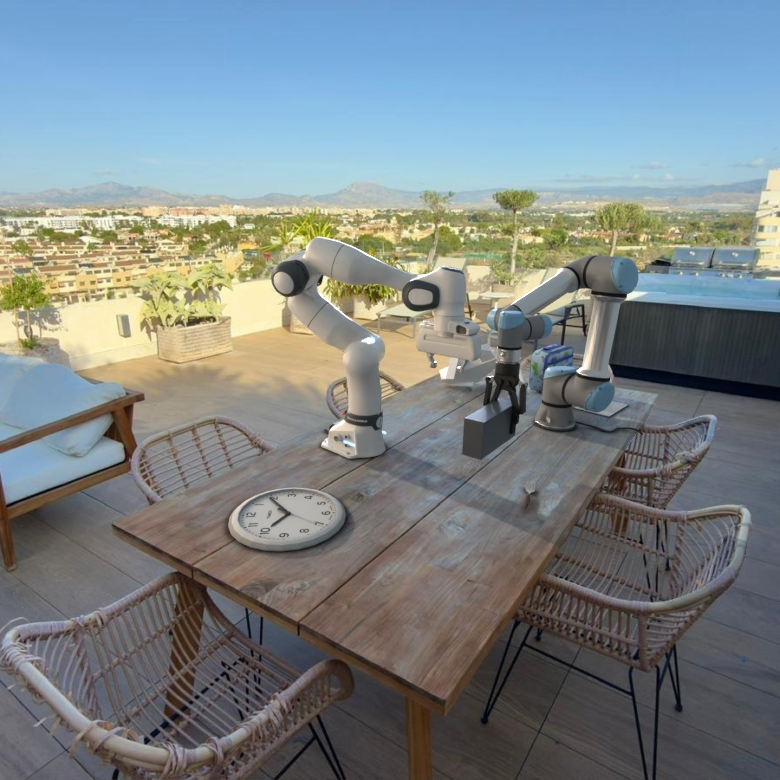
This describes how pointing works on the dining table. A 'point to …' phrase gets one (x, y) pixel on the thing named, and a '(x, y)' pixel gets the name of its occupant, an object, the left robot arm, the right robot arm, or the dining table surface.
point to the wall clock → (287, 519)
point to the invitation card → (608, 409)
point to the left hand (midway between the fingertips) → (446, 370)
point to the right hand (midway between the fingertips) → (502, 430)
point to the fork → (529, 490)
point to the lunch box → (548, 363)
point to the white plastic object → (473, 368)
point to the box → (487, 429)
